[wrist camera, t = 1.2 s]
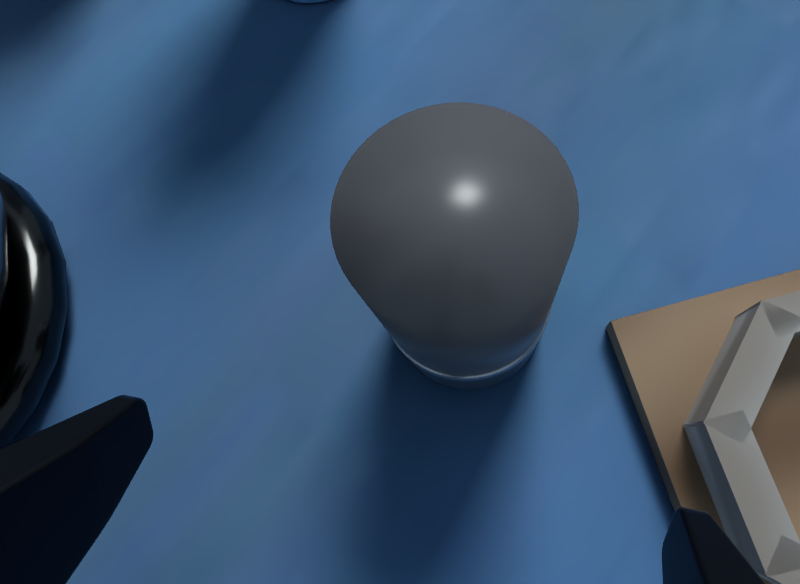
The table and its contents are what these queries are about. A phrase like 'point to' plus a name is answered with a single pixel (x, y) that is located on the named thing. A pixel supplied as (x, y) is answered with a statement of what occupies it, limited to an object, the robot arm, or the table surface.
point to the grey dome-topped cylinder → (457, 237)
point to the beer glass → (308, 1)
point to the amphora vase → (27, 305)
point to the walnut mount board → (679, 370)
